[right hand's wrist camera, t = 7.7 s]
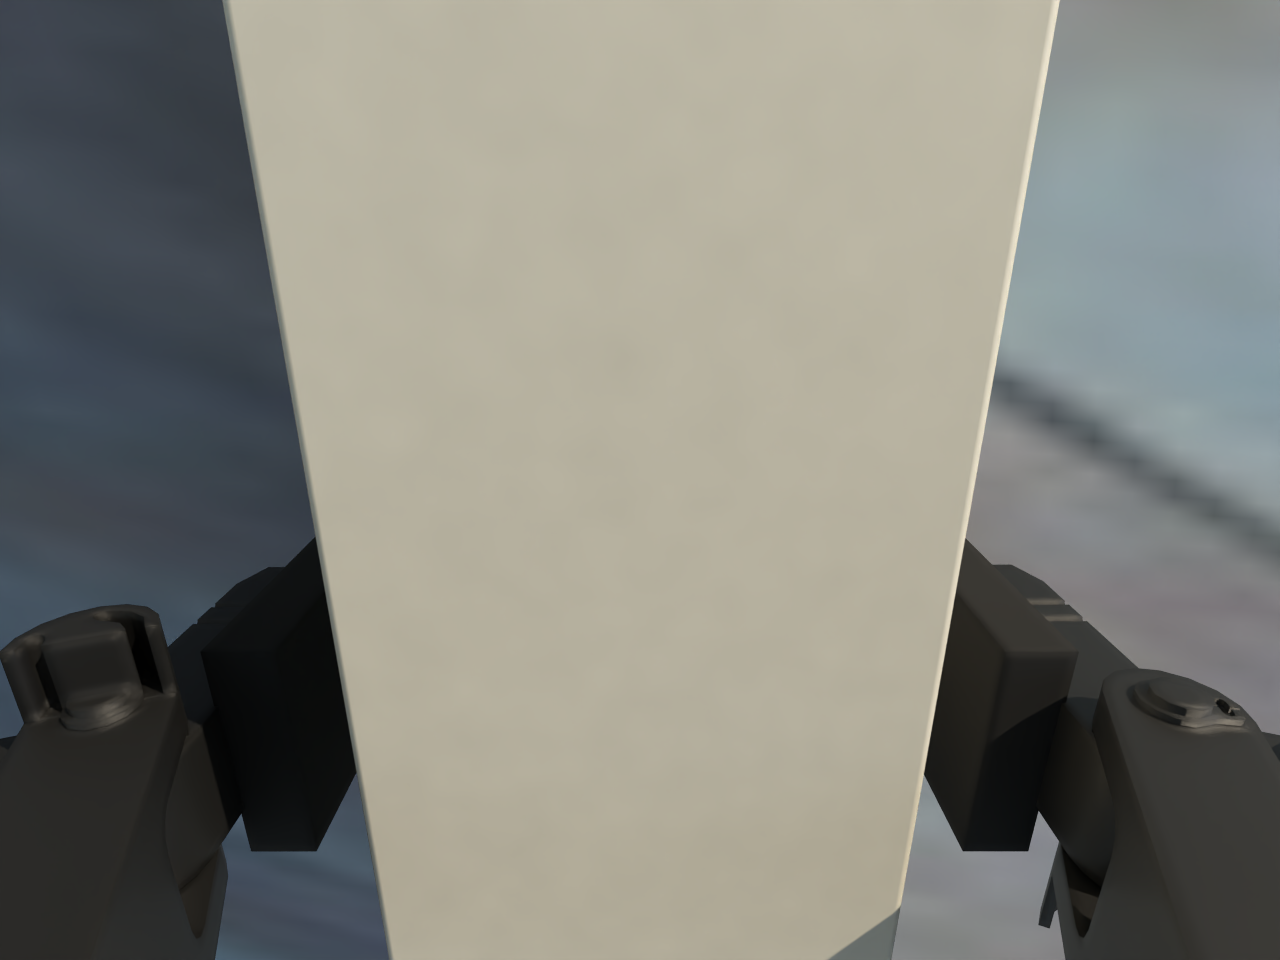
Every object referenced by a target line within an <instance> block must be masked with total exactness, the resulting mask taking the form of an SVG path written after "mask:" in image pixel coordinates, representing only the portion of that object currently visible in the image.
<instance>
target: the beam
mask: <svg viewBox="0 0 1280 960" xmlns="http://www.w3.org/2000/svg"><path fill="white" fill-rule="evenodd" d="M1059 1H1060V0H222V2H223V7H224V13H225V19H226V25H227V30H228V36H229V42H230V48H231V53H232V59H233V65H234V70H235V76H236V82H237V88H238V93H239V99H240V105H241V111H242V116H243V122H244V128H245V134H246V139H247V145H248V151H249V157H250V162H251V168H252V174H253V180H254V185H255V191H256V197H257V203H258V208H259V214H260V220H261V226H262V231H263V237H264V243H265V249H266V254H267V260H268V266H269V272H270V277H271V283H272V289H273V295H274V300H275V306H276V312H277V318H278V323H279V329H280V335H281V340H282V346H283V352H284V358H285V363H286V369H287V375H288V381H289V386H290V392H291V398H292V404H293V409H294V415H295V421H296V427H297V432H298V438H299V444H300V450H301V455H302V461H303V467H304V473H305V478H306V484H307V490H308V496H309V501H310V507H311V513H312V519H313V524H314V530H315V536H316V542H317V547H318V553H319V559H320V565H321V570H322V576H323V582H324V587H325V593H326V599H327V605H328V610H329V616H330V622H331V628H332V633H333V639H334V645H335V651H336V656H337V662H338V668H339V674H340V679H341V685H342V691H343V697H344V702H345V708H346V714H347V720H348V725H349V731H350V737H351V743H352V748H353V754H354V760H355V766H356V771H357V777H358V783H359V789H360V794H361V800H362V806H363V812H364V817H365V823H366V829H367V835H368V840H369V846H370V852H371V857H372V863H373V869H374V875H375V880H376V886H377V892H378V898H379V903H380V909H381V915H382V921H383V926H384V932H385V938H386V944H387V949H388V955H389V960H891V958H892V952H893V946H894V940H895V935H896V929H897V923H898V918H899V912H900V906H901V901H902V895H903V889H904V884H905V878H906V872H907V866H908V861H909V855H910V849H911V844H912V838H913V832H914V827H915V821H916V815H917V809H918V804H919V798H920V792H921V787H922V781H923V775H924V770H925V764H926V758H927V753H928V747H929V741H930V735H931V730H932V724H933V718H934V713H935V707H936V701H937V696H938V690H939V684H940V679H941V673H942V667H943V661H944V656H945V650H946V644H947V639H948V633H949V627H950V622H951V616H952V610H953V604H954V599H955V593H956V587H957V582H958V576H959V570H960V565H961V559H962V553H963V548H964V542H965V536H966V530H967V525H968V519H969V513H970V508H971V502H972V496H973V491H974V485H975V479H976V474H977V468H978V462H979V456H980V451H981V445H982V439H983V434H984V428H985V422H986V417H987V411H988V405H989V399H990V394H991V388H992V382H993V377H994V371H995V365H996V360H997V354H998V348H999V343H1000V337H1001V331H1002V325H1003V320H1004V314H1005V308H1006V303H1007V297H1008V291H1009V286H1010V280H1011V274H1012V269H1013V263H1014V257H1015V251H1016V246H1017V240H1018V234H1019V229H1020V223H1021V217H1022V212H1023V206H1024V200H1025V194H1026V189H1027V183H1028V177H1029V172H1030V166H1031V160H1032V155H1033V149H1034V143H1035V138H1036V132H1037V126H1038V120H1039V115H1040V109H1041V103H1042V98H1043V92H1044V86H1045V81H1046V75H1047V69H1048V64H1049V58H1050V52H1051V46H1052V41H1053V35H1054V29H1055V24H1056V18H1057V12H1058V7H1059Z"/></svg>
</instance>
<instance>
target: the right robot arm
mask: <svg viewBox="0 0 1280 960" xmlns="http://www.w3.org/2000/svg"><path fill="white" fill-rule="evenodd" d="M1064 602H1065V601H1064V600H1063V599H1062V598H1061V597H1060V596H1059V595H1058V594H1057V593H1055V592H1054V591H1053V590H1052V589H1051V588H1050V587H1049V586H1048V585H1047V584H1046V583H1044V582H1043V581H1042V580H1040V579H1038V578H1036V577H1034V576H1032V575H1030V574H1028V573H1026V572H1024V571H1022V570H1020V569H1018V568H1017V567H1015V566H1013V565H992V564H991V563H990V562H989V561H988V560H987V559H986V558H985V557H984V556H983V555H982V554H981V553H980V552H979V551H978V550H977V549H976V548H975V547H974V546H973V545H972V544H971V543H970V542H969V541H968V540H967V539H966V538H965V542H964V548H963V553H962V559H961V565H960V570H959V576H958V582H957V587H956V593H955V599H954V604H953V610H952V616H951V622H950V627H949V633H948V639H947V644H946V650H945V656H944V661H943V667H942V673H941V679H940V684H939V690H938V696H937V701H936V707H935V713H934V718H933V724H932V730H931V735H930V741H929V747H928V753H927V758H926V764H925V770H924V775H925V777H926V779H927V781H928V783H929V785H930V787H931V789H932V791H933V793H934V795H935V797H936V799H937V801H938V803H939V805H940V807H941V809H942V811H943V813H944V815H945V817H946V819H947V821H948V823H949V825H950V827H951V829H952V831H953V833H954V834H955V836H956V838H957V840H958V842H959V844H960V846H961V848H962V850H963V851H1028V850H1029V846H1030V842H1031V838H1032V834H1033V830H1034V826H1035V822H1036V818H1037V814H1038V811H1039V812H1040V813H1041V815H1042V816H1043V818H1044V819H1045V821H1046V822H1047V824H1048V825H1049V827H1050V828H1051V830H1052V831H1053V833H1054V834H1055V836H1056V837H1057V839H1058V840H1059V844H1058V848H1057V851H1056V855H1055V859H1054V862H1053V866H1052V870H1051V873H1050V877H1049V880H1048V884H1047V888H1046V891H1045V895H1044V899H1043V902H1042V906H1041V910H1040V918H1039V925H1040V926H1044V927H1047V928H1050V925H1051V922H1052V918H1053V915H1054V912H1055V911H1056V910H1058V915H1059V922H1060V928H1061V934H1062V941H1063V947H1064V953H1065V959H1066V960H1280V735H1275V734H1270V733H1265V732H1261V730H1260V728H1259V727H1258V725H1257V724H1256V722H1255V721H1254V720H1253V719H1252V718H1251V717H1250V716H1249V715H1248V714H1247V712H1246V711H1245V710H1244V709H1243V708H1242V707H1241V706H1240V705H1238V704H1237V703H1235V702H1234V701H1232V700H1230V699H1229V698H1227V697H1226V696H1224V695H1223V694H1221V693H1220V692H1218V691H1216V690H1214V689H1212V688H1210V687H1207V686H1205V685H1203V684H1200V683H1198V682H1196V681H1193V680H1191V679H1189V678H1185V677H1182V676H1178V675H1174V674H1171V673H1167V672H1163V671H1159V670H1149V669H1139V668H1138V667H1137V666H1135V665H1134V664H1133V663H1132V662H1131V661H1130V660H1129V659H1128V658H1127V657H1126V656H1125V655H1123V654H1122V653H1121V652H1120V651H1119V650H1118V649H1117V648H1116V647H1115V646H1114V645H1112V644H1111V643H1110V642H1109V641H1108V640H1107V639H1106V638H1105V637H1104V636H1103V635H1101V634H1100V633H1099V632H1098V631H1097V630H1096V629H1095V628H1094V627H1093V626H1092V625H1091V624H1089V623H1088V622H1087V621H1083V620H1082V616H1081V615H1080V614H1078V613H1077V612H1076V611H1075V610H1074V609H1073V608H1072V607H1071V606H1070V605H1065V603H1064ZM215 605H216V606H215V607H211V608H210V609H209V610H208V611H207V612H206V613H205V614H204V615H202V616H201V617H200V618H199V619H198V623H197V624H193V625H192V626H190V627H189V628H188V629H187V630H186V631H185V632H184V633H183V634H182V635H181V636H180V637H178V638H177V639H176V640H175V641H174V642H173V643H172V644H171V645H170V646H169V647H167V643H166V640H165V636H164V632H163V629H162V625H161V621H160V618H159V614H158V613H156V612H155V611H153V610H151V609H150V608H148V607H145V606H137V605H129V604H124V605H113V606H101V607H96V608H92V609H88V610H83V611H79V612H75V613H70V614H68V615H65V616H62V617H59V618H57V619H54V620H51V621H49V622H46V623H43V624H40V625H39V626H37V627H35V628H33V629H31V630H29V631H28V632H26V633H24V634H22V635H20V636H18V637H16V638H15V639H14V640H12V641H11V642H10V643H9V644H8V645H7V646H6V647H5V648H3V649H2V650H1V651H0V660H1V662H2V665H3V668H4V670H5V673H6V676H7V678H8V681H9V684H10V686H11V689H12V692H13V694H14V697H15V700H16V703H17V705H18V708H19V711H20V713H21V716H22V719H23V721H24V725H23V727H22V728H21V730H20V732H19V733H18V735H17V736H13V737H7V738H2V739H0V960H215V955H216V949H217V943H218V936H219V930H220V924H221V917H222V911H223V905H224V898H225V892H226V886H227V880H228V872H227V864H226V859H225V855H224V851H223V848H222V844H221V843H222V842H223V840H224V839H225V837H226V836H227V834H228V833H229V831H230V830H231V828H232V827H233V825H234V824H235V822H236V821H237V819H238V818H239V816H240V815H241V813H242V817H243V821H244V825H245V829H246V833H247V837H248V841H249V844H250V848H251V851H317V849H318V847H319V845H320V843H321V841H322V839H323V837H324V835H325V833H326V831H327V829H328V827H329V825H330V824H331V822H332V820H333V818H334V816H335V814H336V812H337V810H338V808H339V806H340V804H341V802H342V800H343V798H344V796H345V794H346V792H347V790H348V788H349V786H350V784H351V782H352V780H353V778H354V776H355V774H356V772H357V771H356V766H355V760H354V754H353V748H352V743H351V737H350V731H349V725H348V720H347V714H346V708H345V702H344V697H343V691H342V685H341V679H340V674H339V668H338V662H337V656H336V651H335V645H334V639H333V633H332V628H331V622H330V616H329V610H328V605H327V599H326V593H325V587H324V582H323V576H322V570H321V565H320V559H319V553H318V547H317V542H316V537H315V538H314V539H313V540H312V541H311V542H310V543H309V544H308V545H307V546H306V547H305V548H304V549H303V550H302V551H301V552H300V553H299V554H298V555H297V556H296V557H295V558H294V559H293V560H292V561H291V562H290V563H289V564H288V565H287V566H286V567H268V568H266V569H264V570H262V571H261V572H259V573H257V574H255V575H253V576H251V577H249V578H247V579H245V580H243V581H241V582H240V583H238V584H236V585H235V586H234V587H233V588H232V589H231V590H230V591H229V592H227V593H226V594H225V595H224V596H223V597H222V598H221V599H220V600H219V601H218V602H217V603H215Z"/></svg>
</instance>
